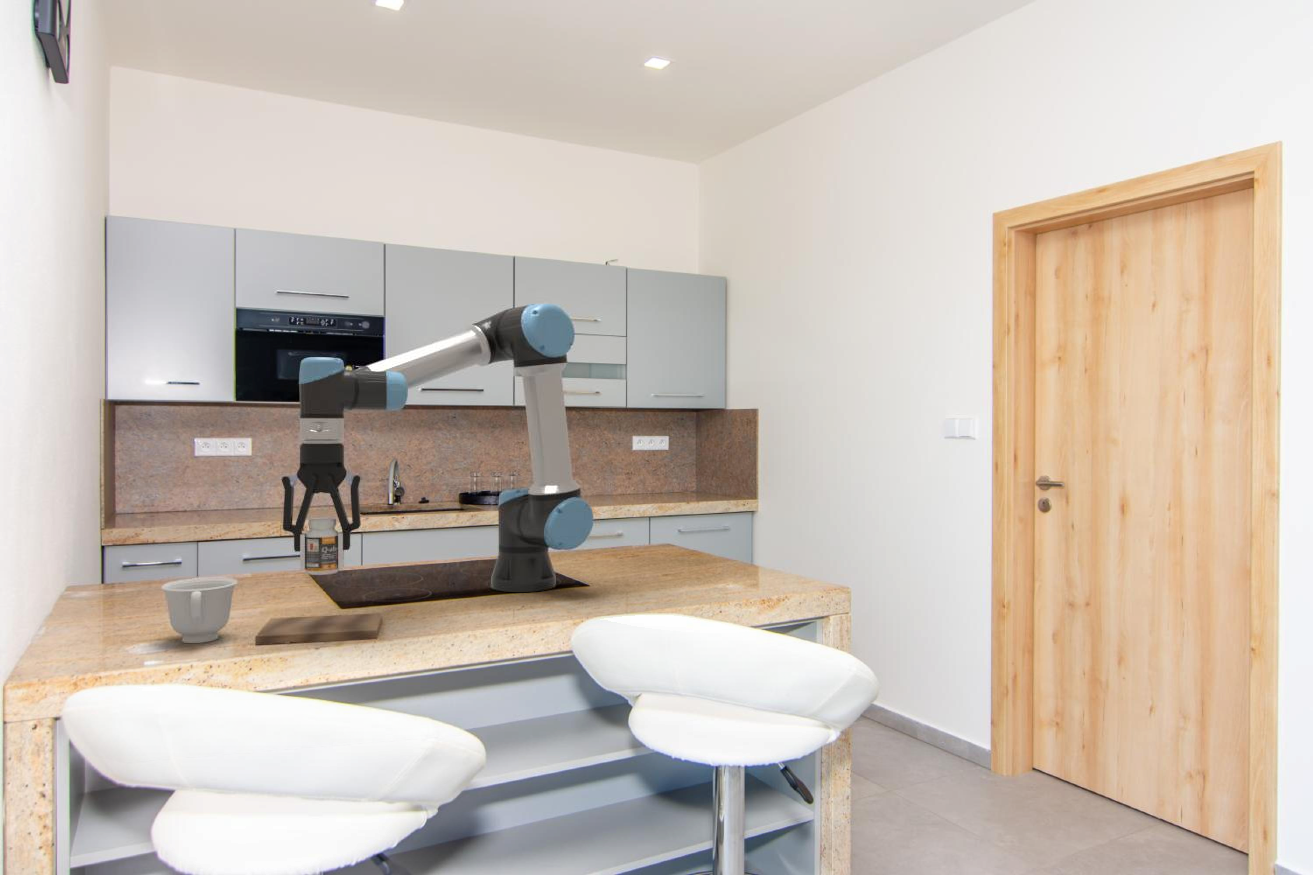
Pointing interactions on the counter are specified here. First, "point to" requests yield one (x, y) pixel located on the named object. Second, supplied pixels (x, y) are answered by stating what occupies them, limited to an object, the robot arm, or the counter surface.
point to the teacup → (199, 606)
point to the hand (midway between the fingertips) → (322, 568)
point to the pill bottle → (322, 547)
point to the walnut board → (320, 628)
